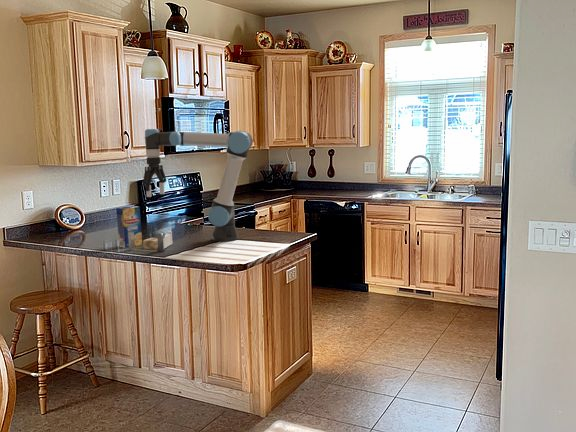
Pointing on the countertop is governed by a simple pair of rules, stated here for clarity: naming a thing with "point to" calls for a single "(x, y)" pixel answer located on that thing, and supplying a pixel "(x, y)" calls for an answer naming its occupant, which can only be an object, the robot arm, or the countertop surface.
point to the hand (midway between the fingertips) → (155, 195)
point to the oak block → (150, 243)
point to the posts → (160, 244)
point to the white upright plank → (167, 239)
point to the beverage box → (129, 225)
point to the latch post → (131, 241)
